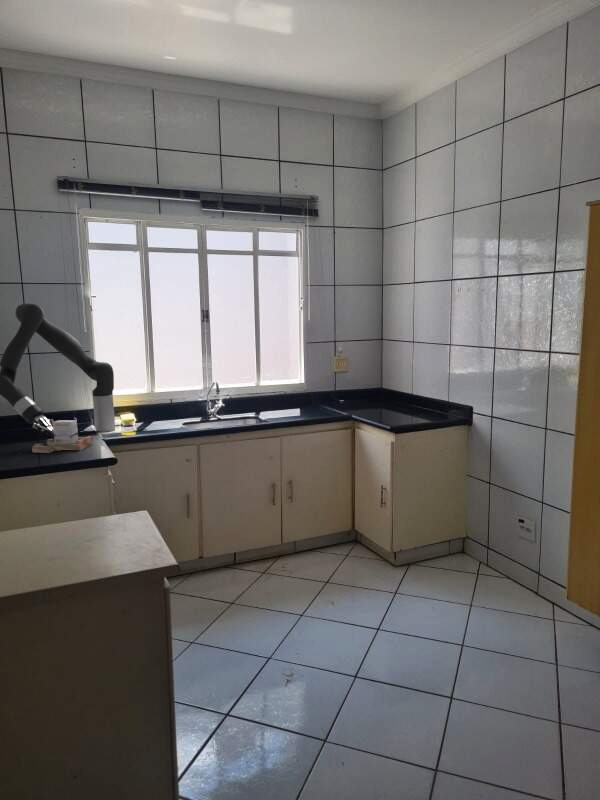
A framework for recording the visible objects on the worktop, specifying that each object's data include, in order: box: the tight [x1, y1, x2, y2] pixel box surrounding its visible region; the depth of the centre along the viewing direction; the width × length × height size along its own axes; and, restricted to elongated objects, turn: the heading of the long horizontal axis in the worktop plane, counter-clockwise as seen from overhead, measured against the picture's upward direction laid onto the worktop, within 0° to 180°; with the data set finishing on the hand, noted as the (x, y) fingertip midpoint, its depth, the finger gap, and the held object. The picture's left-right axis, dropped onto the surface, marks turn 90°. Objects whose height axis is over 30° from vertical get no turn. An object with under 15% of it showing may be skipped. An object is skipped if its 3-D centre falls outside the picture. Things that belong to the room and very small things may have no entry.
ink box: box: [53, 419, 79, 444], centre depth 239 cm, size 9×5×12 cm, turn 78°
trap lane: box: [31, 435, 93, 454], centre depth 241 cm, size 19×20×4 cm
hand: (57, 438), depth 241 cm, fingers closed
